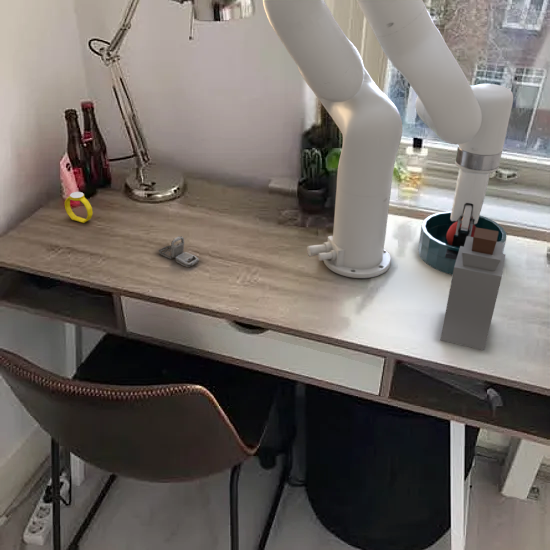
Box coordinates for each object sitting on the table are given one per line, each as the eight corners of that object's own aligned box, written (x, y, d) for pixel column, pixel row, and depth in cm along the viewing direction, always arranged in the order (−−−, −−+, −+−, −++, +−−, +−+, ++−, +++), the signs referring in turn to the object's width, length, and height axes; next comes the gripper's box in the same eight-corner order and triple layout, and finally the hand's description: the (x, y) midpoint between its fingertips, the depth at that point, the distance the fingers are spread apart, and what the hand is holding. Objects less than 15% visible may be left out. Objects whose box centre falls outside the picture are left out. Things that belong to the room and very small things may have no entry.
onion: (472, 247, 127) (479, 210, 122) (476, 262, 122) (485, 224, 118) (441, 245, 127) (448, 208, 123) (445, 260, 122) (452, 222, 118)
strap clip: (200, 262, 121) (199, 242, 118) (188, 268, 119) (187, 248, 116) (169, 247, 125) (167, 227, 123) (157, 253, 123) (155, 233, 121)
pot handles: (467, 262, 114) (468, 257, 114) (444, 257, 115) (445, 253, 115) (478, 216, 129) (479, 212, 129) (457, 213, 130) (458, 209, 130)
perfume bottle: (440, 340, 102) (459, 240, 92) (446, 316, 107) (465, 220, 98) (484, 350, 100) (508, 249, 90) (488, 325, 105) (511, 228, 96)
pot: (443, 281, 116) (447, 255, 114) (404, 241, 129) (408, 216, 126) (517, 269, 120) (523, 244, 117) (472, 231, 133) (477, 207, 130)
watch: (64, 220, 134) (59, 194, 131) (72, 215, 136) (68, 189, 133) (88, 226, 132) (83, 200, 129) (96, 220, 134) (92, 194, 131)
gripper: (460, 138, 122) (445, 223, 131) (451, 173, 108) (435, 265, 118) (501, 143, 120) (483, 229, 130) (498, 179, 106) (478, 272, 116)
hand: (460, 245), depth 123 cm, fingers closed on onion, 5 cm apart
